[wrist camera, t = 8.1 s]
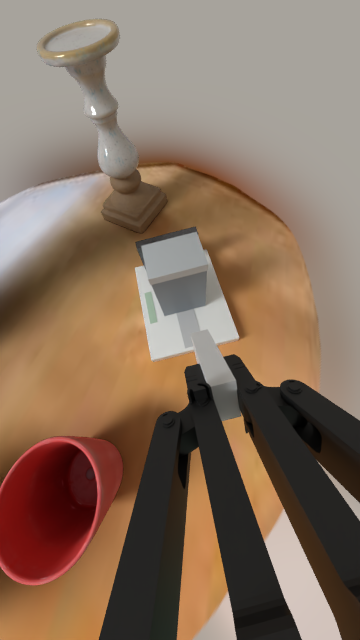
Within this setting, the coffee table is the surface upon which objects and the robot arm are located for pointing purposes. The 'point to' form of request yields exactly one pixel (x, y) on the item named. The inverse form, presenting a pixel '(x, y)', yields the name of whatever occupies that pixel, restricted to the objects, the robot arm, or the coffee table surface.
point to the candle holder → (104, 118)
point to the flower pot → (55, 505)
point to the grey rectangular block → (177, 272)
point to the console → (174, 330)
